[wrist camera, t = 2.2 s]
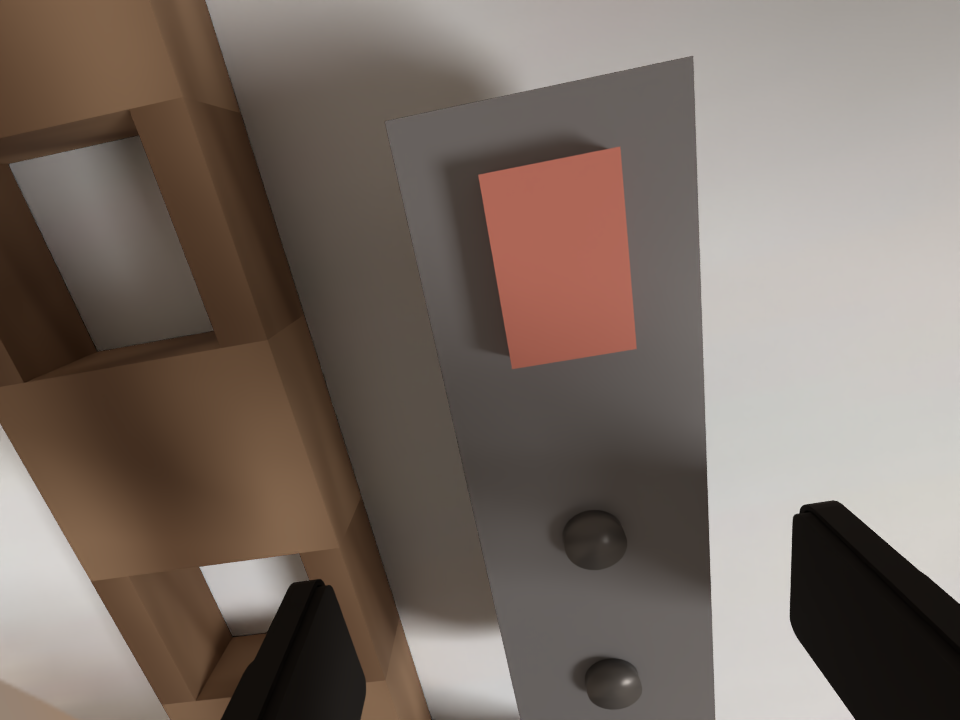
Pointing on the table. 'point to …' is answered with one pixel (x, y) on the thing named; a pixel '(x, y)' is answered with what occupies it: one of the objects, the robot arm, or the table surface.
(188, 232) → the rail
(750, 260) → the table surface
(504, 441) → the grey control box
